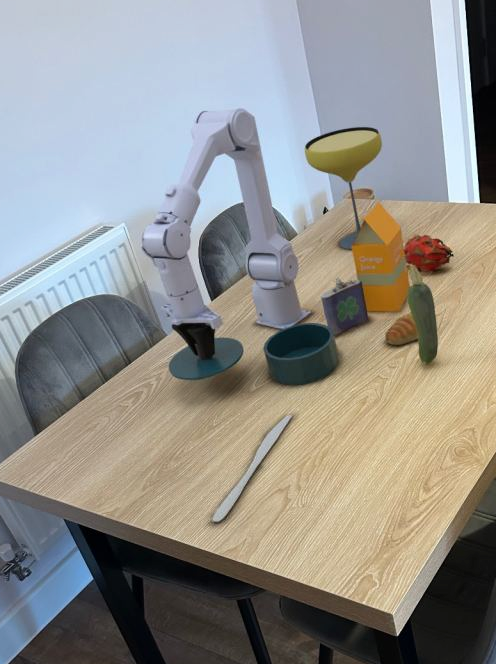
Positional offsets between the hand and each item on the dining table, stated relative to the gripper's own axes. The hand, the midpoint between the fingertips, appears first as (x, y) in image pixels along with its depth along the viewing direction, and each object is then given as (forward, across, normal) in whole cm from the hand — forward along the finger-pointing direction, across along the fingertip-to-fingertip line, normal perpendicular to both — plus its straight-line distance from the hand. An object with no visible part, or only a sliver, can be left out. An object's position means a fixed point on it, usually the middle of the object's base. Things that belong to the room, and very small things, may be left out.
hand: (205, 354), depth 142 cm
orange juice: (+7, +13, +39) cm, 42 cm away
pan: (+6, +13, +12) cm, 19 cm away
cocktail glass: (+7, -14, +64) cm, 66 cm away
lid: (+1, 0, 0) cm, 1 cm away
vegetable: (+7, +36, +21) cm, 42 cm away
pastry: (+7, +26, +29) cm, 40 cm away
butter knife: (+7, +26, -15) cm, 31 cm away
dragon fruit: (+7, +13, +55) cm, 57 cm away
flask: (+7, +12, +27) cm, 30 cm away
